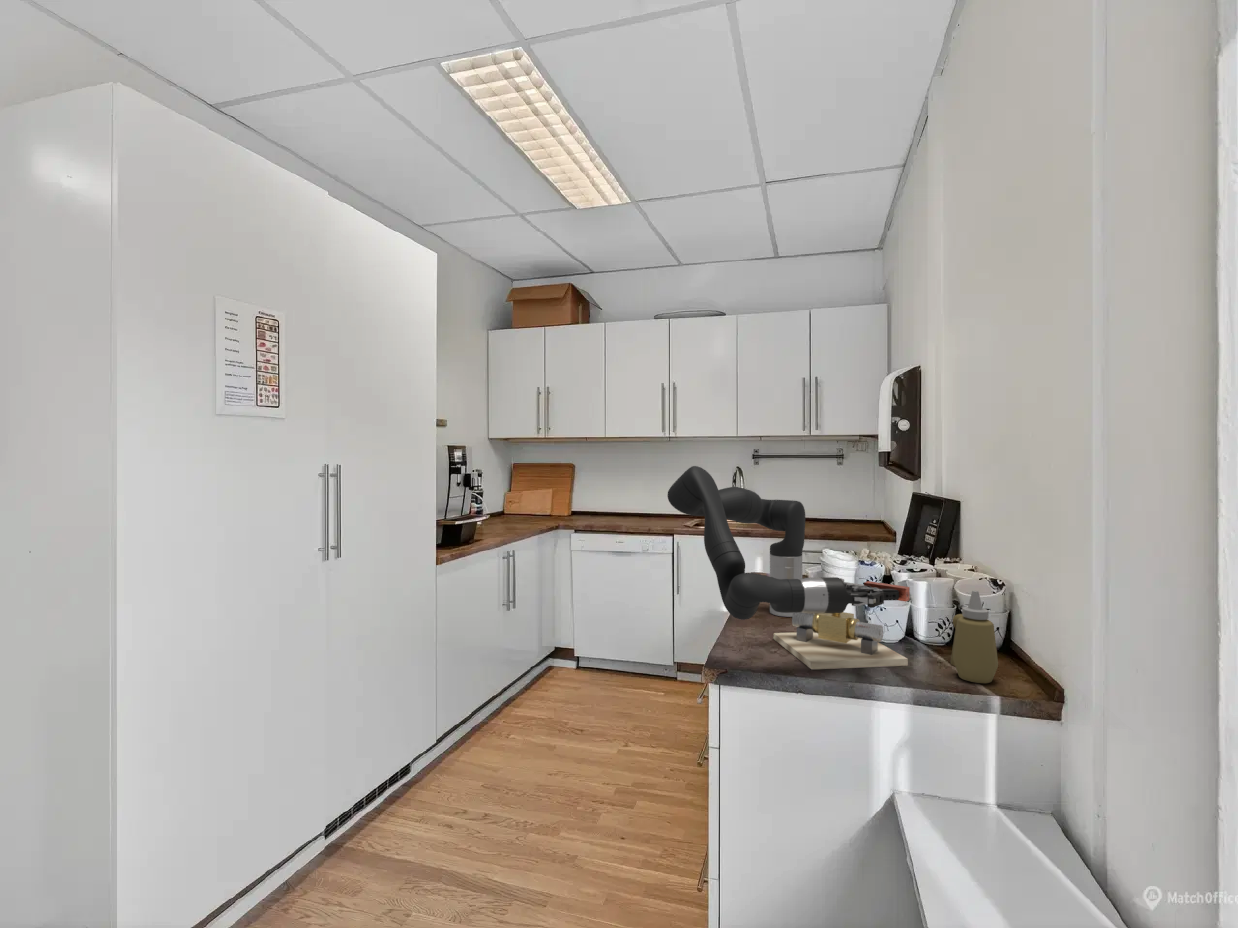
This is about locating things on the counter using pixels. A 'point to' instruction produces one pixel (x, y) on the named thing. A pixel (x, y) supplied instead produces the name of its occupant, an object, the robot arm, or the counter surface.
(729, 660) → the counter surface
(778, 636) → the base board
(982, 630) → the squeeze bottle
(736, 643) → the counter surface
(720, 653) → the counter surface
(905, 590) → the lever
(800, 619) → the valve and pipe
